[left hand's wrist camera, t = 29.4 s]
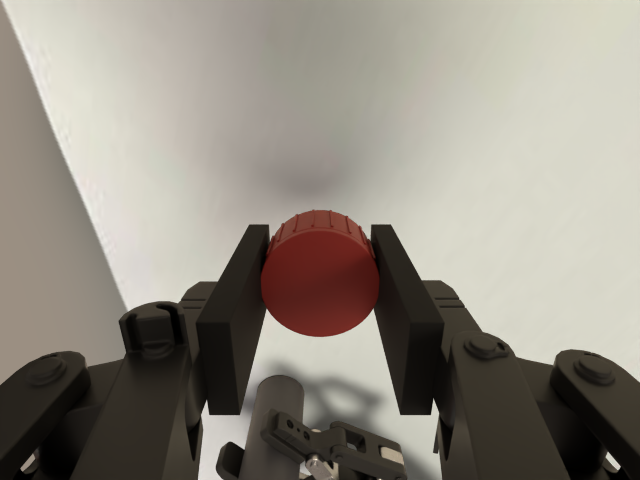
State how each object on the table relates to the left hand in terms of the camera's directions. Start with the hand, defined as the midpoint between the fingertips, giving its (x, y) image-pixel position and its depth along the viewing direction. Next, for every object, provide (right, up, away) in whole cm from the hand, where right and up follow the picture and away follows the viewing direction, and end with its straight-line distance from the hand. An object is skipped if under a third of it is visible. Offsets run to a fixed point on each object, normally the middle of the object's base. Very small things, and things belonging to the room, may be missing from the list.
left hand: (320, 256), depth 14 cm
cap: (0, -1, -2) cm, 2 cm away
